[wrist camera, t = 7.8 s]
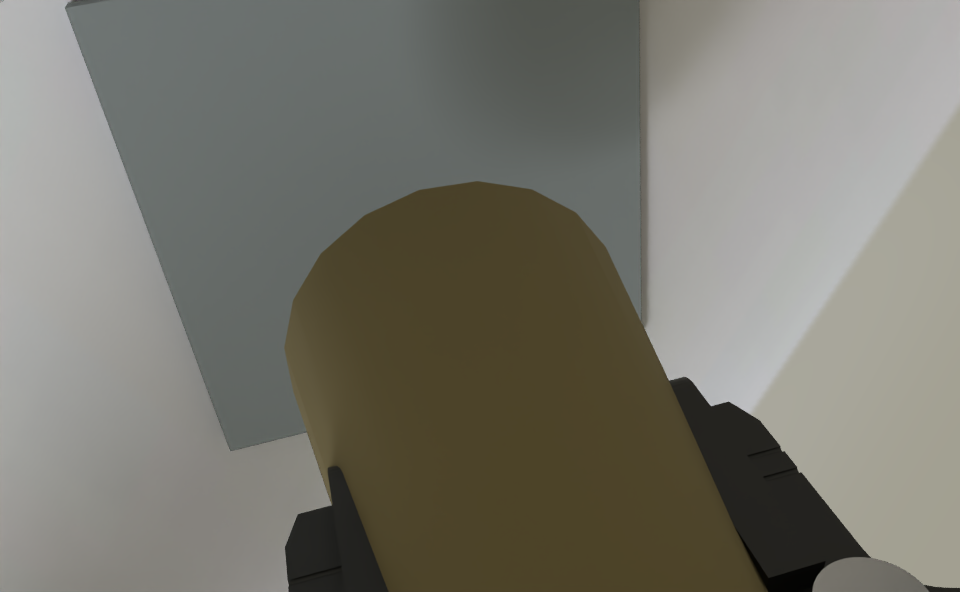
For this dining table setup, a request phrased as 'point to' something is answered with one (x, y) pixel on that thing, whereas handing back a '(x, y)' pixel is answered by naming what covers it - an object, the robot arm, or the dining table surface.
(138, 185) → the mat
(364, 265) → the cork
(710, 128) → the dining table surface
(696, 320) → the dining table surface
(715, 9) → the dining table surface
